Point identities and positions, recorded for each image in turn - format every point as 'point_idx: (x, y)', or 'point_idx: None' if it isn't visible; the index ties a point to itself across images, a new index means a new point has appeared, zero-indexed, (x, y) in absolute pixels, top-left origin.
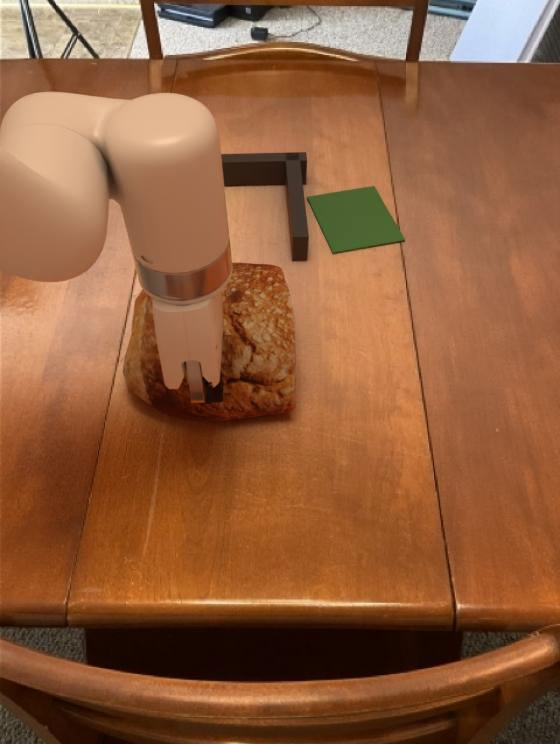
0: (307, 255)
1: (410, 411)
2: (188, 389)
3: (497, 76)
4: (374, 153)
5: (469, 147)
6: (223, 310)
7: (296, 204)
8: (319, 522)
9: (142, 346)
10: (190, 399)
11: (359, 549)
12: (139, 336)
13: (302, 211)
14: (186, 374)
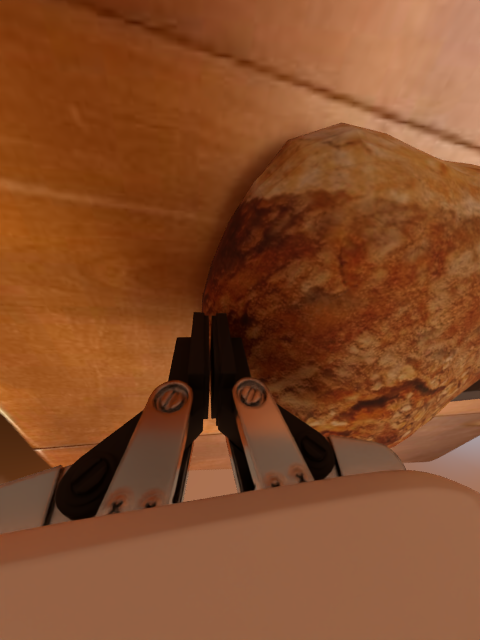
0: None
1: (211, 429)
2: (191, 340)
3: (450, 448)
4: (456, 409)
5: (412, 442)
6: (368, 426)
7: (466, 395)
8: (83, 387)
9: (384, 204)
10: (193, 316)
11: (63, 410)
12: (425, 195)
13: (453, 399)
14: (115, 476)
